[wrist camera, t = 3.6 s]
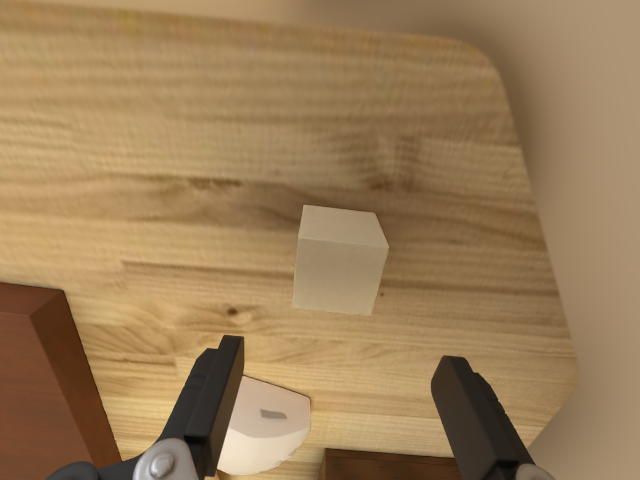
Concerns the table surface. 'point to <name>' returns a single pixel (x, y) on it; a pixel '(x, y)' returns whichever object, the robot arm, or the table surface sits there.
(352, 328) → the table surface
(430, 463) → the chest
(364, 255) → the block
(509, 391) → the table surface
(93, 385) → the brown flat wooden slab
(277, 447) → the computer mouse
